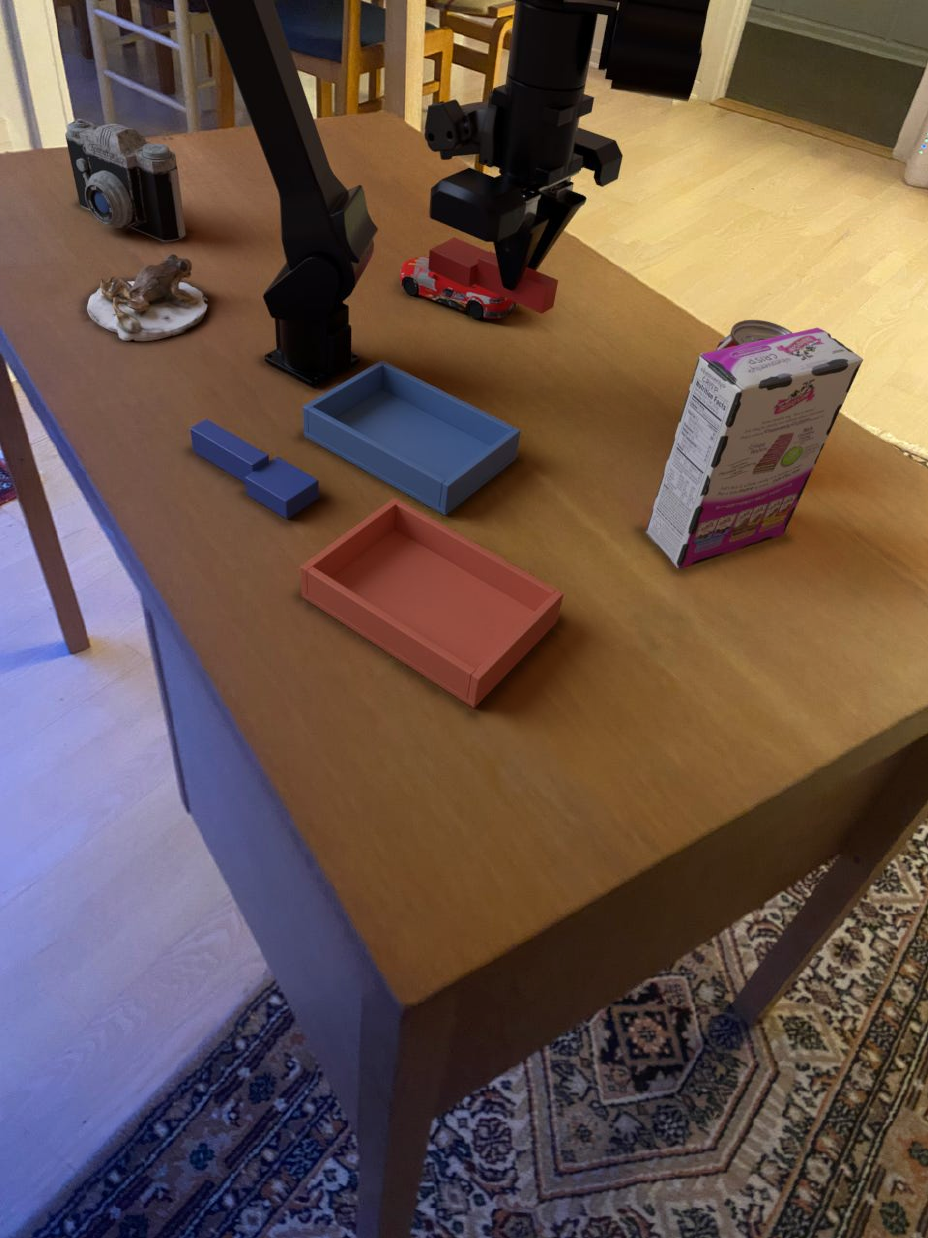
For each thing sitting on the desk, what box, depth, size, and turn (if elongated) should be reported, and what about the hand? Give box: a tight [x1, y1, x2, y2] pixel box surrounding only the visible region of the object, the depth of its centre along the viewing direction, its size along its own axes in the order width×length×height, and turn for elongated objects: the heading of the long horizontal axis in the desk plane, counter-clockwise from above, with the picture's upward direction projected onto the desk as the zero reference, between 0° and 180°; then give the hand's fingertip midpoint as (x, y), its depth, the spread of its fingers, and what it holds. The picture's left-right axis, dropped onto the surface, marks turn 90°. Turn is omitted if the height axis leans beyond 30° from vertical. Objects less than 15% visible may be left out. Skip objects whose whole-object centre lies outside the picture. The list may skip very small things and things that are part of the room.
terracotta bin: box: [300, 497, 565, 709], centre depth 63 cm, size 15×10×3 cm
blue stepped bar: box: [189, 418, 320, 520], centre depth 71 cm, size 11×4×2 cm, turn 54°
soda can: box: [715, 319, 793, 350], centre depth 76 cm, size 7×7×12 cm
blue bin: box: [302, 360, 522, 516], centre depth 76 cm, size 15×10×3 cm
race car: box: [399, 256, 518, 320], centre depth 94 cm, size 13×5×4 cm, turn 60°
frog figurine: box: [86, 254, 208, 342], centre depth 87 cm, size 12×12×4 cm
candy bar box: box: [645, 327, 864, 570], centre depth 67 cm, size 11×5×16 cm, turn 117°
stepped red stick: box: [428, 236, 559, 315], centre depth 76 cm, size 11×4×2 cm, turn 54°
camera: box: [64, 118, 187, 243], centre depth 96 cm, size 15×7×10 cm, turn 58°
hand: (515, 284), depth 76 cm, fingers closed on stepped red stick, 2 cm apart
